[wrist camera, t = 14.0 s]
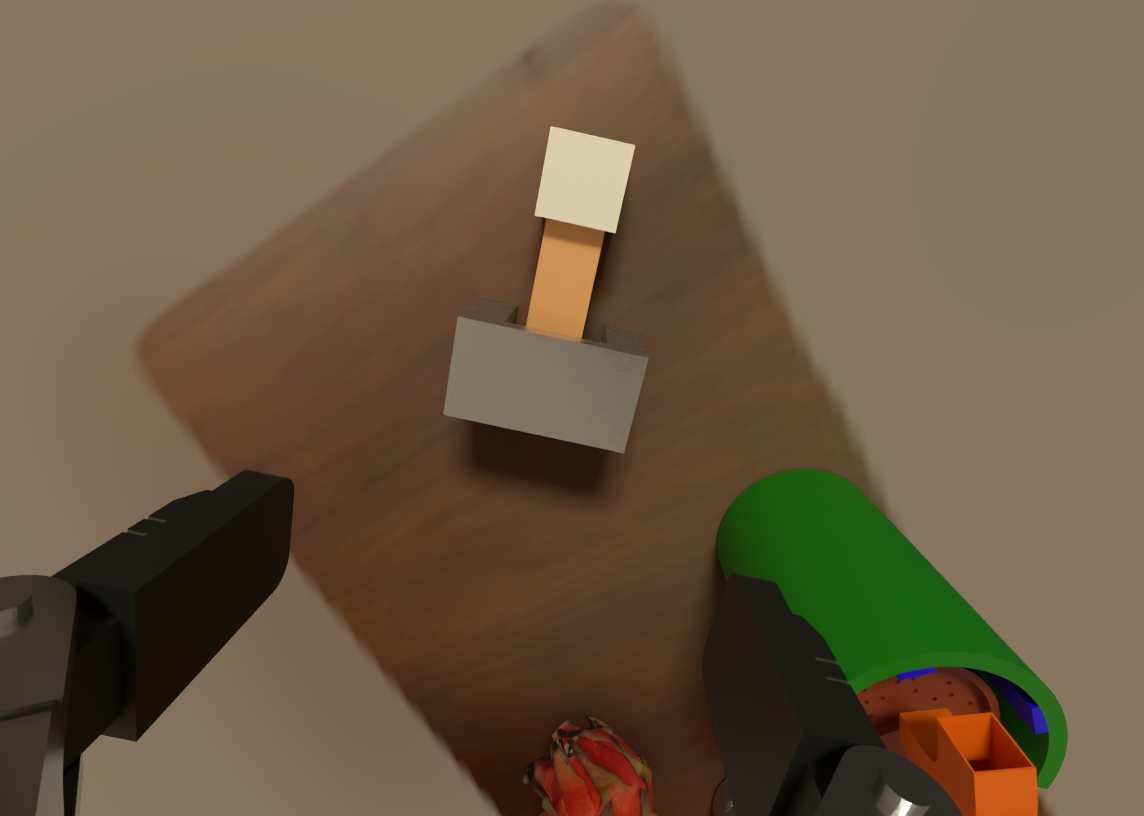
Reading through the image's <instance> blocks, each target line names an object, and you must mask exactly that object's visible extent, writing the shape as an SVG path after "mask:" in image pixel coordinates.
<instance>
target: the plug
mask: <svg viewBox="0 0 1144 816" xmlns="http://www.w3.org/2000/svg"><path fill="white" fill-rule="evenodd" d="M634 149H635V145H632V144H627V143H623V142H618V141H614V140H610V139H605V138H601V137H596V136H592V135H588V134H583V133H579V132H574V131H570V130H566V129H561V128H557V127H552V126H551V128H550V134H549V140H548V145H547V151H546V156H545V162H544V167H543V173H542V178H541V184H540V189H539V195H538V200H537V206H536V211H535V215H536V216H540V217H545V218H546V223H545V229H544V234H543V239H542V245H541V250H540V255H539V261H538V266H537V271H536V277H535V282H534V287H533V293H532V298H531V303H530V309H529V314H528V319H527V324H526V326H528V327H533V328H537V329H542V330H546V331H551V332H555V333H560V334H565V335H569V336H574V337H578V338H582V333H583V329H584V324H585V320H586V315H587V311H588V306H589V302H590V297H591V293H592V288H593V283H594V279H595V274H596V270H597V265H598V261H599V256H600V252H601V247H602V243H603V238H604V233H605V231H607V232H612V233H616V228H617V224H618V219H619V215H620V211H621V206H622V202H623V197H624V193H625V188H626V184H627V180H628V175H629V171H630V166H631V162H632V157H633V153H634Z"/></svg>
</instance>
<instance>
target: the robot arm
mask: <svg viewBox="0 0 1144 816" xmlns="http://www.w3.org/2000/svg"><path fill="white" fill-rule="evenodd" d="M293 500H294V485H293V482H292V480H291V479H289V478H285V477H281V476H276V475H271V474H266V473H262V472H257V471H252V470H244V471H242V472H240V473H239V474H237V475H236V476H234V477H232V478H231V479H229V480H228V481H226V482H225V483H223V484H222V485H220V486H219V487H217V488H216V489H214V490H213V491H210V490H205V491H201V492H198V493H195V494H192V495H189V496H186V497H183V498H179V499H176V500H173V501H172V502H170V503H169V504H167V505H165V506H164V507H162V508H161V509H159V510H157V511H156V512H154V513H153V514H151V515H150V516H149V518H148V519H143V520H141V521H140V522H138V523H136V524H135V525H133V526H132V527H130V528H128V531H127V533H124V532H122V533H120V534H119V535H117V536H115V537H114V538H112V539H111V540H109V541H107V542H106V543H105V544H103V545H101V546H99V547H98V548H96V549H95V550H93V551H92V552H90V553H88V554H86V555H85V556H83V557H82V558H80V559H79V560H77V561H75V562H74V563H72V564H70V565H69V566H67V567H66V568H64V569H62V570H61V571H59V572H57V573H56V574H54V575H53V576H51V577H50V576H42V575H18V576H8V577H2V578H0V816H79V813H80V801H81V790H82V779H83V752H84V751H85V749H87V748H88V747H89V746H90V745H91V744H92V743H93V742H94V741H95V740H96V739H97V738H98V737H99V736H100V735H106V736H111V737H116V738H120V739H125V740H131V741H135V742H136V741H137V740H138V739H139V738H140V737H141V736H142V735H143V734H144V733H145V732H146V730H147V729H148V728H149V727H150V726H151V725H152V724H153V723H154V722H155V721H156V720H157V718H158V717H159V716H160V715H161V714H162V713H163V712H164V711H165V710H166V708H167V707H168V706H169V705H170V704H171V703H172V702H173V701H174V700H175V699H176V698H177V697H178V696H179V694H180V693H181V692H182V691H183V690H184V689H185V688H186V687H187V686H188V685H189V683H190V682H191V681H192V680H193V679H194V678H195V677H196V676H197V675H198V674H199V672H201V670H202V669H203V668H204V667H205V666H206V665H207V664H208V663H209V662H210V661H211V659H212V658H213V657H214V656H215V655H216V654H217V653H218V652H219V651H220V650H221V649H222V647H223V646H224V645H225V644H226V643H227V642H228V641H229V640H230V638H231V637H232V636H233V635H234V634H235V633H236V632H237V631H238V630H239V629H240V628H241V627H242V625H243V624H244V623H245V622H246V621H247V620H248V619H249V618H250V617H251V616H252V615H253V614H254V612H255V611H256V610H257V609H258V608H259V607H260V606H261V605H262V604H263V602H265V600H266V599H267V598H268V597H269V596H270V595H271V594H272V593H273V592H274V590H275V589H276V588H277V586H278V585H279V583H280V581H281V579H282V577H283V575H284V572H285V570H286V567H287V563H288V559H289V550H290V538H291V525H292V513H293ZM836 661H837V660H836V658H835V656H834V655H833V653H832V651H831V649H830V648H829V646H828V644H827V642H826V640H825V639H824V637H823V636H822V635H821V634H820V633H819V632H818V631H817V630H816V629H815V628H814V627H813V626H812V625H810V624H809V623H808V622H807V621H806V620H805V619H804V618H803V617H802V616H801V615H796V614H792V612H791V610H790V608H789V606H788V604H787V602H786V600H785V598H784V596H783V594H782V593H781V591H780V589H779V587H778V585H777V584H776V583H775V582H774V581H770V580H765V579H760V578H755V577H751V576H746V575H741V574H736V573H733V574H731V575H730V576H729V578H728V579H727V581H726V584H725V586H724V589H723V592H722V595H721V598H720V601H719V604H718V608H717V611H716V614H715V617H714V620H713V623H712V626H711V629H710V632H709V635H708V638H707V641H706V644H705V648H704V654H703V664H702V672H703V681H704V686H705V690H706V694H707V698H708V702H709V707H710V711H711V715H712V719H713V723H714V728H715V732H716V736H717V740H718V744H719V749H720V753H721V757H722V761H723V765H724V770H725V774H726V779H725V780H724V781H723V782H722V783H721V784H720V786H719V787H718V789H717V790H716V792H715V795H714V798H713V806H712V811H713V816H962V814H961V812H960V810H959V809H958V807H957V805H956V804H955V802H954V801H953V799H952V798H951V797H950V795H949V794H948V793H947V792H946V791H945V790H944V789H943V787H942V786H941V785H940V784H939V783H938V782H937V781H936V780H934V779H933V778H932V777H931V776H930V775H929V774H928V773H926V772H925V771H924V770H923V769H921V768H920V767H918V766H917V765H915V764H914V763H913V762H911V761H909V760H908V759H906V758H904V757H902V756H900V755H898V754H896V753H894V752H892V751H889V750H887V748H886V747H885V745H884V743H883V741H882V740H881V738H880V736H879V734H878V732H877V731H876V729H875V727H874V725H873V724H872V722H871V720H870V718H869V717H868V715H867V713H866V711H865V709H864V708H863V706H862V704H861V702H860V701H859V699H858V697H857V695H856V694H855V692H854V690H853V688H852V686H851V685H849V684H847V681H848V679H847V678H846V676H845V674H844V672H843V671H842V669H841V667H840V665H837V664H836Z"/></svg>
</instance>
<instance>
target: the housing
mask: <svg viewBox="0 0 1144 816" xmlns="http://www.w3.org/2000/svg"><path fill="white" fill-rule="evenodd" d="M516 312H517V306H515V305H511V304H506V303H502V302H497V301H493V300H488V299H482V300H481V301H479V302H478V303H476V304H475V305H473V306H472V307H471V308H469V309H468V310H466V311H465V312H464V313H462V314H461V315H459V316H458V320H457V326H456V333H455V340H454V346H453V353H452V360H451V367H450V373H449V380H448V387H447V393H446V400H445V407H444V413H443V415H447V416H452V417H456V418H461V419H466V420H470V421H475V422H480V423H484V424H489V425H494V426H498V427H503V428H508V429H513V430H517V431H522V432H527V433H531V434H536V435H541V436H545V437H550V438H555V439H559V440H564V441H569V442H573V443H578V444H583V445H588V446H592V447H597V448H602V449H606V450H611V451H616V452H620V453H624V451H625V447H626V444H627V440H628V436H629V432H630V428H631V424H632V420H633V417H634V413H635V409H636V405H637V401H638V397H639V394H640V390H641V386H642V382H643V378H644V374H645V371H646V367H647V363H648V359H649V357H648V354H647V352H646V349H645V346H644V343H643V341H642V338H641V335H640V333H639V332H634V331H630V330H625V329H621V328H616V327H611V326H607V325H606V327H605V331H604V335H603V340H602V343H601V342H597V341H592V340H588V339H583V338H578V337H574V336H569V335H565V334H560V333H555V332H551V331H546V330H542V329H537V328H533V327H528V326H523V325H519V324H514V323H515V317H516Z"/></svg>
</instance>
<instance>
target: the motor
mask: <svg viewBox="0 0 1144 816" xmlns="http://www.w3.org/2000/svg"><path fill="white" fill-rule="evenodd" d="M717 553H718V558H719V562H720V565H721V568H722V570H723V573H724V576H725V579H726V581H727V579H728V578H729V576H730V575H731V574H733V573H736V574H741V575H746V576H751V577H755V578H760V579H765V580H770V581H774V582H775V583H776V584H777V585H778V587H779V589H780V591H781V593H782V594H783V596H784V598H785V600H786V602H787V604H788V606H789V608H790V610H791V612H792V614H796V615H801V616H802V617H803V618H804V619H805V620H806V621H807V622H808V623H809V624H810V625H812V626H813V627H814V628H815V629H816V630H817V631H818V632H819V633H820V634H821V635H822V636H823V637H824V639H825V640H826V642H827V644H828V646H829V648H830V649H831V651H832V653H833V655H834V656H835V658H836V660H837V661H836V664H837V665H840V667H841V669H842V671H843V672H844V674H845V676H846V678H847V679H848V681H847V684H849V685H851V686H852V688H853V690H854V692H855V694H856V695H857V697H858V699H859V701H860V702H861V704H862V706H863V708H864V709H865V711H866V713H867V715H868V717H869V718H870V720H871V722H872V724H873V725H874V727H875V729H876V731H877V732H878V734H879V736H880V738H881V740H882V741H883V743H884V745H885V747H886V748H887V750H889V751H892V752H894V753H896V754H898V755H900V756H902V757H904V758H906V759H908V760H909V761H911V762H913V763H914V764H915V765H917V766H918V767H920V768H921V769H923V770H924V771H925V772H926V773H928V774H929V775H930V776H931V777H932V778H933V779H934V780H936V781H937V782H938V783H939V784H940V785H941V786H942V787H943V789H944V790H945V791H946V792H947V793H948V794H949V795H950V797H951V798H952V799H953V801H954V802H955V804H956V805H957V807H958V809H959V810H960V812H961V814H962V816H1037V811H1038V794H1037V787H1041V788H1045V789H1048V787H1049V786H1050V785H1051V783H1052V782H1053V780H1054V779H1055V777H1056V775H1057V773H1058V772H1059V770H1060V767H1061V765H1062V762H1063V759H1064V756H1065V752H1066V746H1067V725H1066V720H1065V716H1064V713H1063V710H1062V708H1061V706H1060V704H1059V702H1058V700H1057V699H1056V697H1055V696H1054V694H1053V693H1052V692H1051V690H1050V689H1049V688H1048V687H1047V686H1046V685H1045V684H1044V683H1043V682H1042V681H1041V680H1040V679H1039V678H1038V677H1037V676H1036V674H1035V673H1034V672H1033V671H1032V670H1031V669H1030V668H1029V667H1028V666H1027V665H1026V664H1025V663H1024V662H1023V661H1022V660H1021V659H1020V658H1019V656H1018V655H1017V654H1016V653H1015V652H1014V651H1013V650H1012V649H1011V648H1010V647H1009V646H1008V645H1007V644H1006V643H1005V642H1004V641H1003V640H1002V639H1001V637H999V635H998V634H997V633H996V632H995V631H994V630H993V629H992V628H991V627H990V626H989V625H988V624H987V623H986V622H985V620H983V618H982V617H981V616H980V615H979V614H978V613H977V612H976V611H975V610H974V609H973V608H972V607H971V606H970V605H969V604H968V603H967V601H966V600H965V599H964V598H963V597H962V596H961V595H960V594H959V593H958V592H957V591H956V590H955V589H954V588H953V587H952V586H951V585H950V583H949V582H948V581H947V580H946V579H945V578H944V577H943V576H942V575H941V574H940V573H939V572H938V571H937V570H936V569H935V568H934V567H933V565H932V564H931V563H930V562H929V561H928V560H927V559H926V558H925V557H924V556H923V555H922V554H921V553H920V552H919V551H918V550H917V549H916V547H915V546H914V545H913V544H912V543H911V542H910V541H909V540H908V539H907V538H906V537H905V536H904V535H903V534H902V533H901V532H900V531H899V529H898V528H897V527H896V526H895V525H894V524H893V523H892V522H891V521H890V520H889V519H888V518H887V517H886V516H885V515H884V514H883V513H882V512H881V510H880V509H879V508H878V507H877V506H876V505H875V504H874V503H873V502H872V501H871V500H870V499H869V498H868V497H867V496H866V495H865V494H864V492H863V491H862V490H861V489H860V488H858V487H857V486H856V485H855V484H853V483H852V482H851V481H849V480H847V479H845V478H844V477H841V476H839V475H837V474H834V473H831V472H827V471H823V470H815V469H796V470H789V471H784V472H780V473H777V474H774V475H771V476H769V477H766V478H764V479H762V480H760V481H758V482H757V483H755V484H753V485H752V486H750V487H749V488H748V489H746V490H745V491H744V492H743V493H742V494H741V495H740V496H739V497H738V498H737V499H736V500H735V501H734V502H733V503H732V505H731V506H730V507H729V509H728V510H727V512H726V514H725V515H724V518H723V520H722V522H721V525H720V528H719V532H718V537H717ZM933 697H935V698H933Z"/></svg>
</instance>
